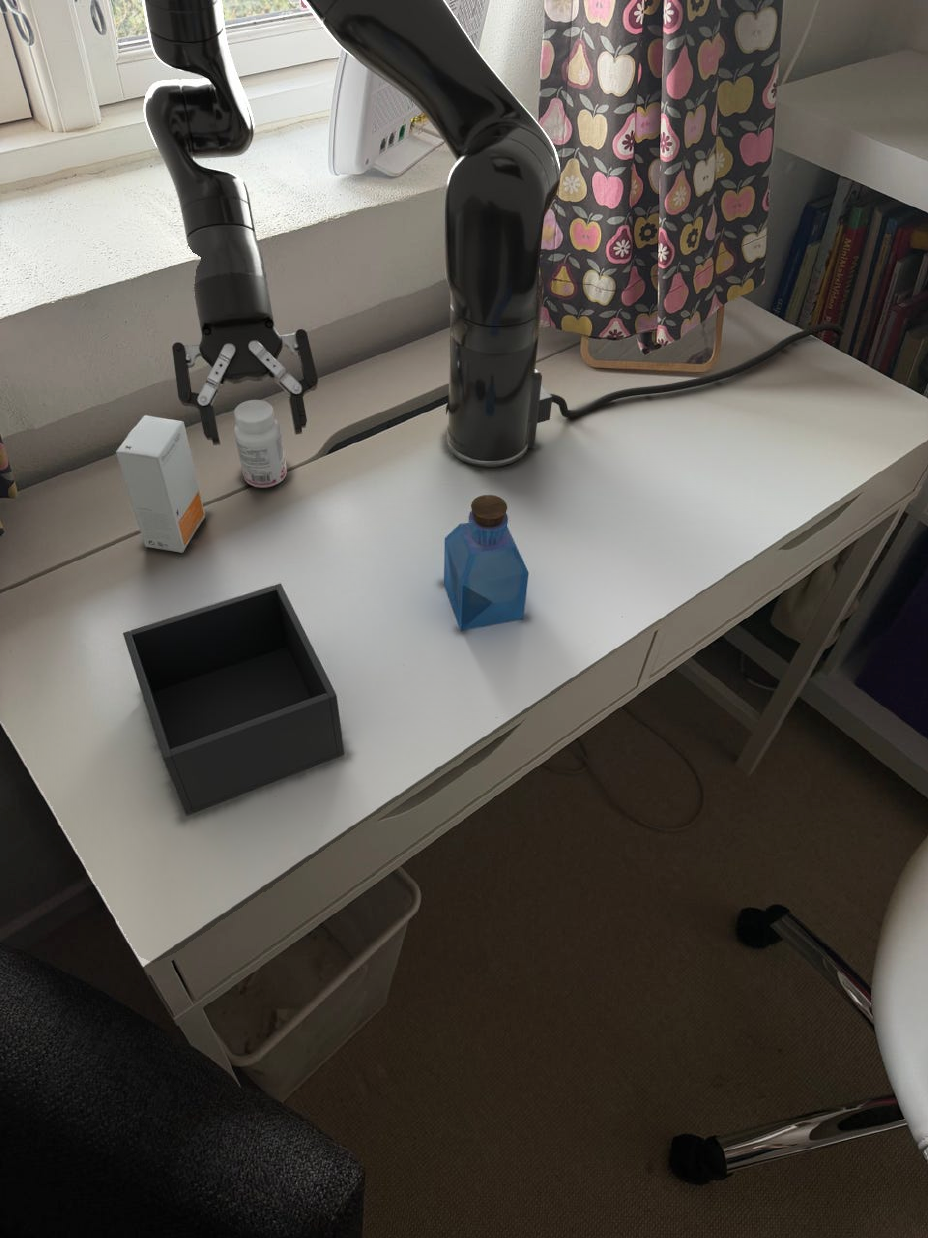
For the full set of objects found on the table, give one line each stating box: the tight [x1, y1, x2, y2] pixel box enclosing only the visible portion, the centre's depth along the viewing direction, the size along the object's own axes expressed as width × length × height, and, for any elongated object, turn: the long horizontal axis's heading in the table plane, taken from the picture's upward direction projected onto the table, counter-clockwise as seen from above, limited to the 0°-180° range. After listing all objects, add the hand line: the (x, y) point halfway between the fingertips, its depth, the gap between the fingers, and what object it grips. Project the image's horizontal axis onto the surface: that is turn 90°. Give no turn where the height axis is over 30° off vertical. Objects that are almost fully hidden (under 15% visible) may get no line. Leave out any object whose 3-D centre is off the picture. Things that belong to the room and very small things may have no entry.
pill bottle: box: [233, 399, 288, 489], centre depth 94 cm, size 5×5×8 cm
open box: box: [122, 583, 345, 816], centre depth 72 cm, size 13×13×8 cm
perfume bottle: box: [443, 494, 530, 631], centre depth 81 cm, size 6×6×12 cm
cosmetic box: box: [115, 414, 206, 554], centre depth 86 cm, size 6×4×12 cm
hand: (258, 438), depth 92 cm, fingers open, 8 cm apart
